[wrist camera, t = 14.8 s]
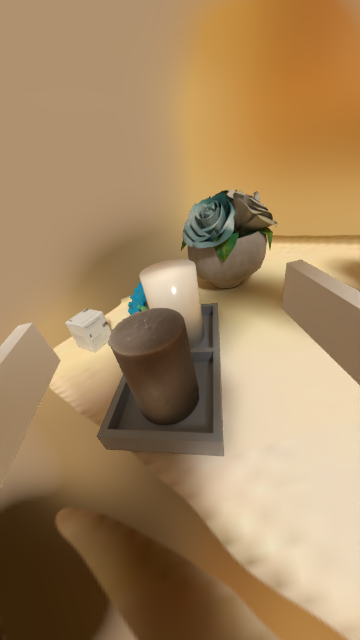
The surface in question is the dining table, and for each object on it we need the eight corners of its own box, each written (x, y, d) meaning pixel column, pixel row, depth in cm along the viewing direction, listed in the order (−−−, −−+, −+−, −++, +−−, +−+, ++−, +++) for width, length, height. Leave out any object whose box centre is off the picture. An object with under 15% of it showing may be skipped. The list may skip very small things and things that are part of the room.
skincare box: (95, 353, 48) (81, 327, 44) (78, 347, 51) (63, 322, 47) (114, 336, 52) (103, 311, 48) (97, 332, 55) (85, 307, 51)
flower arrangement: (290, 289, 56) (306, 178, 42) (198, 312, 54) (183, 205, 40) (247, 260, 76) (248, 179, 62) (179, 277, 74) (164, 197, 61)
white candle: (205, 320, 49) (197, 256, 41) (203, 350, 41) (193, 278, 33) (163, 322, 51) (147, 262, 43) (154, 352, 43) (132, 285, 35)
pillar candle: (212, 402, 32) (200, 319, 24) (153, 440, 29) (115, 359, 20) (179, 364, 39) (162, 291, 31) (130, 392, 36) (96, 318, 28)
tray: (218, 315, 52) (217, 302, 50) (223, 456, 27) (222, 442, 25) (154, 319, 55) (151, 308, 53) (106, 449, 30) (96, 436, 28)
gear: (124, 300, 63) (141, 273, 59) (141, 307, 66) (159, 282, 63) (129, 324, 55) (149, 294, 51) (148, 331, 58) (169, 303, 55)
